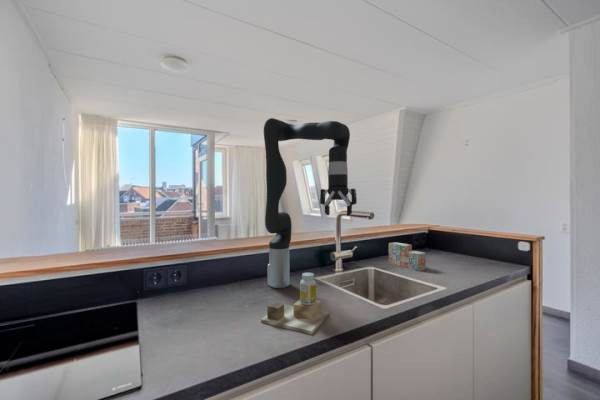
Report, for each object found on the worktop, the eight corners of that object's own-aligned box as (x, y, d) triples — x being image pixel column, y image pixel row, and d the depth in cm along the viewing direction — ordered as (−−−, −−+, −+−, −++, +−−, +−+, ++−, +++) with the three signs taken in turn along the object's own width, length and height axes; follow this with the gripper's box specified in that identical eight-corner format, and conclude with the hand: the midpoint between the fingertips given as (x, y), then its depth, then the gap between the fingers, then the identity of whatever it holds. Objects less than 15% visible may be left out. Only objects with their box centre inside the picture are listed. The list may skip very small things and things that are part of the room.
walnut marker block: (267, 318, 91) (267, 306, 91) (273, 313, 94) (273, 301, 94) (277, 320, 89) (277, 308, 89) (284, 315, 93) (284, 303, 93)
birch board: (260, 322, 90) (260, 319, 90) (282, 306, 103) (282, 304, 103) (311, 334, 82) (311, 331, 82) (328, 315, 95) (328, 313, 95)
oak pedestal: (293, 316, 92) (293, 304, 92) (302, 308, 98) (302, 297, 98) (312, 320, 89) (312, 308, 89) (321, 312, 95) (321, 300, 95)
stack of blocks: (425, 269, 153) (426, 247, 152) (418, 271, 150) (418, 248, 149) (395, 261, 171) (395, 241, 171) (388, 262, 168) (388, 242, 168)
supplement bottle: (300, 305, 91) (300, 276, 91) (299, 299, 96) (299, 272, 96) (317, 305, 91) (316, 276, 91) (314, 299, 97) (314, 271, 96)
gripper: (358, 173, 109) (358, 215, 109) (324, 175, 115) (324, 214, 116) (353, 172, 102) (353, 216, 103) (317, 174, 109) (317, 215, 109)
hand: (338, 215), depth 109 cm, fingers open, 8 cm apart
